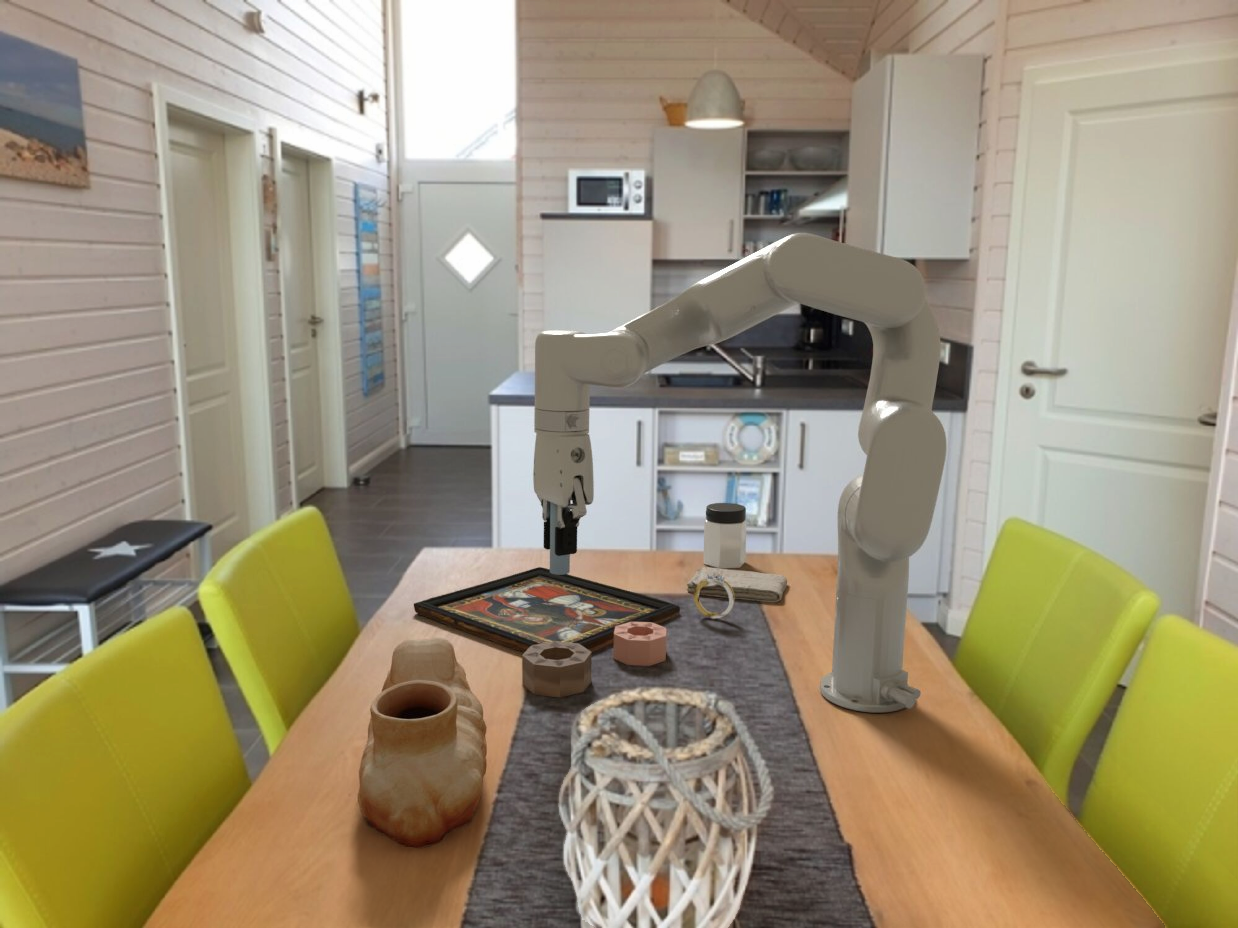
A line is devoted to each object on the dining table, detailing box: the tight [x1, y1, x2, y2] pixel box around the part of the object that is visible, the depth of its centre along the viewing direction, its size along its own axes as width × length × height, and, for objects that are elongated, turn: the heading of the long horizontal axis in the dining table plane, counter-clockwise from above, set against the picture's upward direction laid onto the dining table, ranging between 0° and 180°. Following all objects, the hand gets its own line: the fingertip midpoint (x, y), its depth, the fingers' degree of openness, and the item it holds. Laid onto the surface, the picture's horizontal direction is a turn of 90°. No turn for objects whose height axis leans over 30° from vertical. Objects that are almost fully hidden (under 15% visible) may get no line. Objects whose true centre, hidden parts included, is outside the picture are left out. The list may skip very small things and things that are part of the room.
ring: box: [693, 572, 736, 620], centre depth 164 cm, size 7×3×8 cm, turn 62°
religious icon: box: [413, 566, 681, 654], centre depth 166 cm, size 38×35×3 cm
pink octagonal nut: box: [612, 622, 667, 667], centre depth 148 cm, size 8×8×4 cm
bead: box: [521, 641, 592, 699], centre depth 137 cm, size 9×9×4 cm
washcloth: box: [686, 566, 788, 603], centre depth 181 cm, size 12×18×3 cm, turn 74°
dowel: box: [549, 500, 572, 575], centre depth 133 cm, size 3×3×12 cm
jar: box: [703, 502, 748, 569], centre depth 197 cm, size 9×8×12 cm
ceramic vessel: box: [357, 636, 488, 849], centre depth 107 cm, size 14×26×15 cm, turn 8°
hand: (560, 549), depth 134 cm, fingers closed on dowel, 2 cm apart
